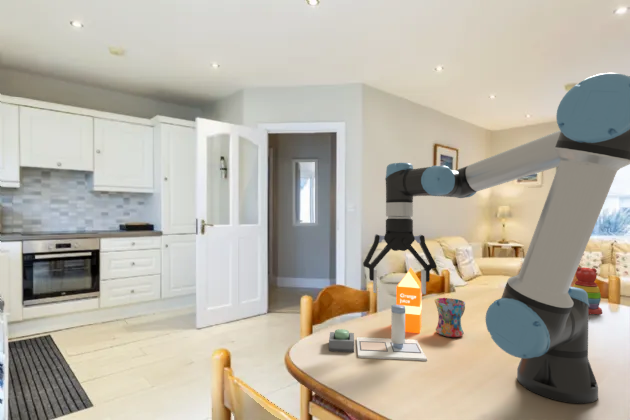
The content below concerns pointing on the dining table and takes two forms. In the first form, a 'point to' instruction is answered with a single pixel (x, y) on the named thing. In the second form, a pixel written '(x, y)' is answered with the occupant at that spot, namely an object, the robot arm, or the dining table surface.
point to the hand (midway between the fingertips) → (399, 292)
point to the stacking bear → (589, 288)
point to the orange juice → (410, 301)
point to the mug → (450, 316)
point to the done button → (342, 334)
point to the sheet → (389, 349)
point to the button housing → (341, 343)
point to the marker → (398, 326)
